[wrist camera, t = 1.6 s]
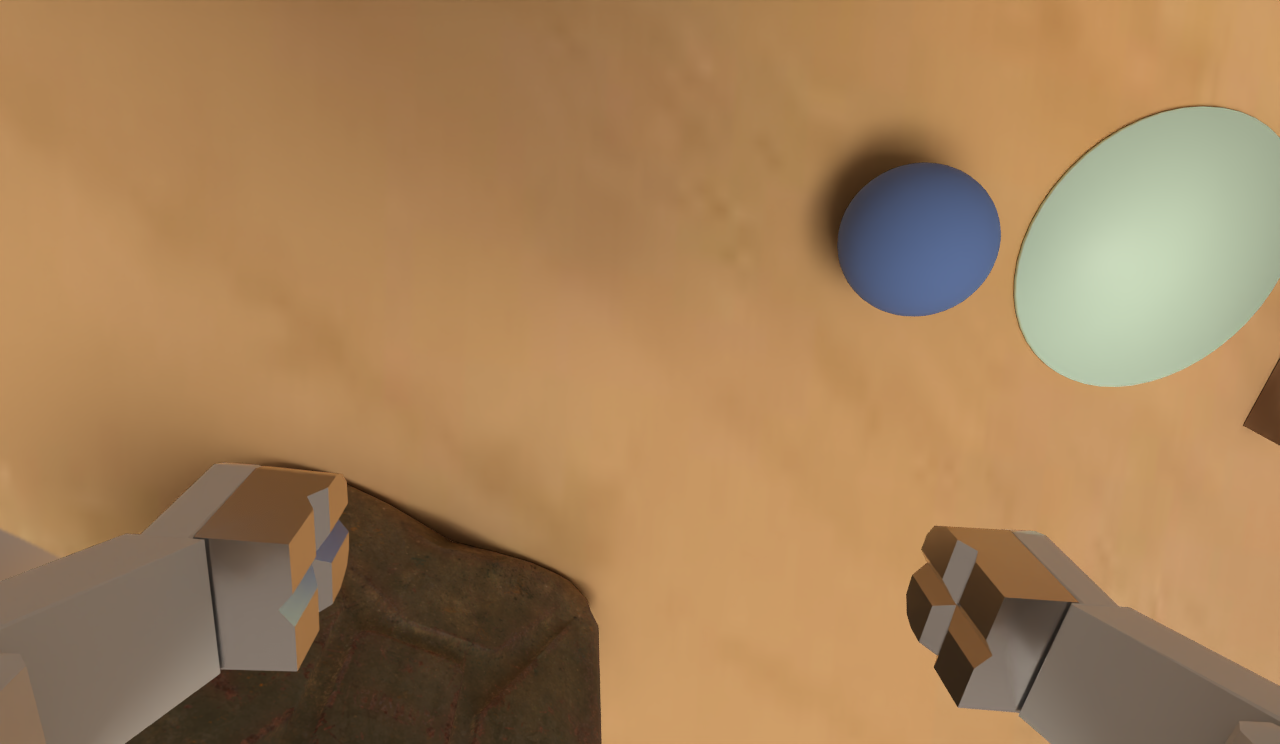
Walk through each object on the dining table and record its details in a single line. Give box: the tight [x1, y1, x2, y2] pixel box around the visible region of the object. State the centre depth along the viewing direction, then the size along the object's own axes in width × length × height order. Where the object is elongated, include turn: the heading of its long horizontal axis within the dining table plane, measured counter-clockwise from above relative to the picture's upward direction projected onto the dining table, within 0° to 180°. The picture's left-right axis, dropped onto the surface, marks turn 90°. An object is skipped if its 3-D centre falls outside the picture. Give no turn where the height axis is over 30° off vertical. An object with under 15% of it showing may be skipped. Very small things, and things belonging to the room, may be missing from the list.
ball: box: [837, 163, 1001, 316], centre depth 27 cm, size 6×6×6 cm
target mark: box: [1014, 106, 1280, 387], centre depth 31 cm, size 13×13×1 cm
